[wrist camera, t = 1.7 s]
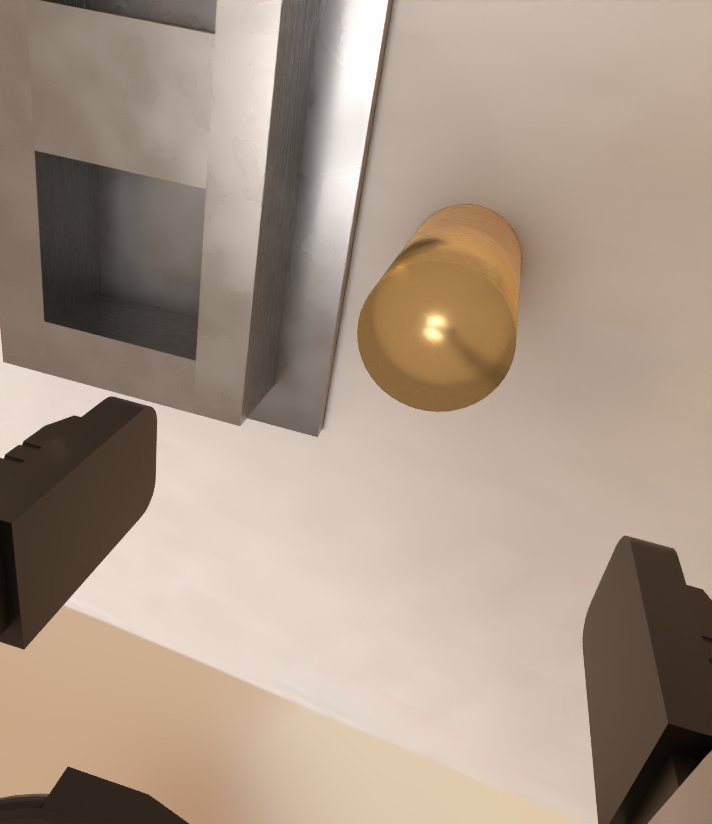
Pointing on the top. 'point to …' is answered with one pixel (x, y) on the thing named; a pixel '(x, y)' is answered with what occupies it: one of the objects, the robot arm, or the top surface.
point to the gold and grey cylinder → (445, 312)
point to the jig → (185, 195)
